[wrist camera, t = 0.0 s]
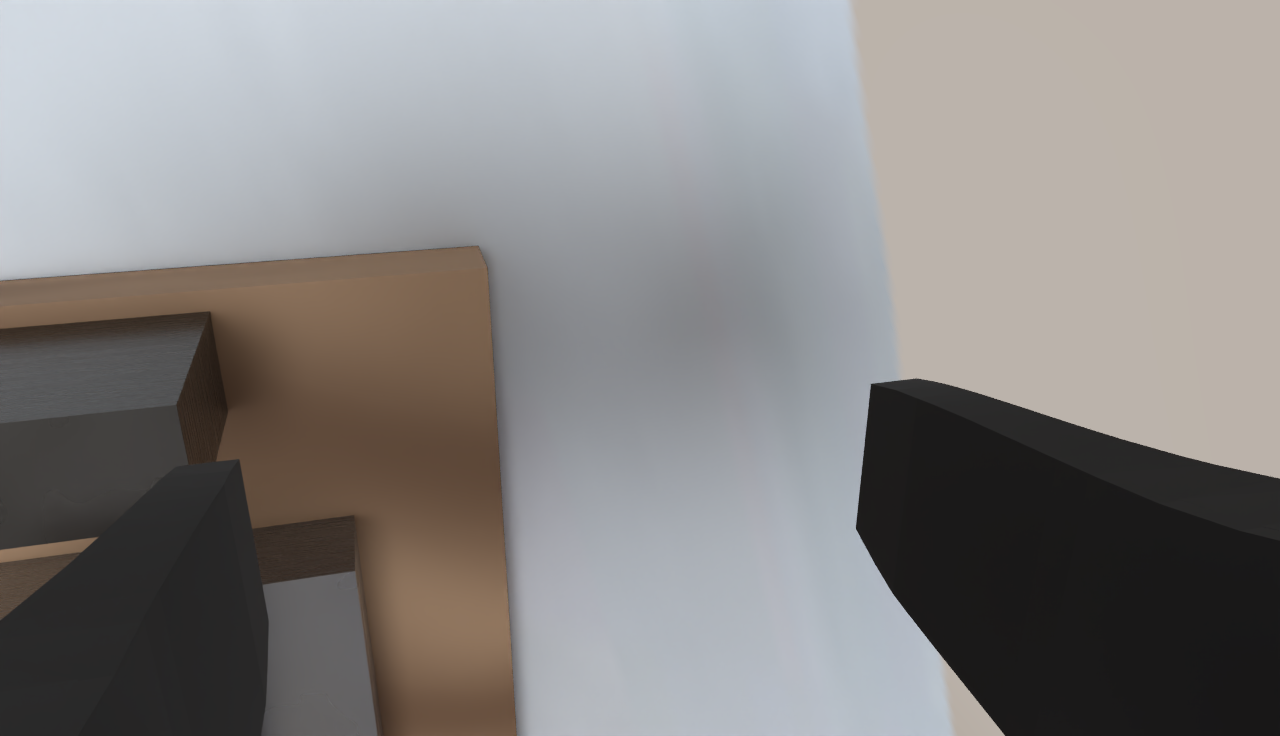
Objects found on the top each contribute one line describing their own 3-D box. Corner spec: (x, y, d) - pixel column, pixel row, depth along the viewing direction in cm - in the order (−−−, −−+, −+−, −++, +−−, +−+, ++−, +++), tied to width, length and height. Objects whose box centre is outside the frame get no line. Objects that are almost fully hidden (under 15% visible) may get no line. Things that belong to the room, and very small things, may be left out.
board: (522, 924, 28) (531, 972, 27) (-33, 1057, 25) (-54, 1121, 23) (477, 245, 20) (487, 268, 19) (-353, 307, 17) (-413, 339, 15)
